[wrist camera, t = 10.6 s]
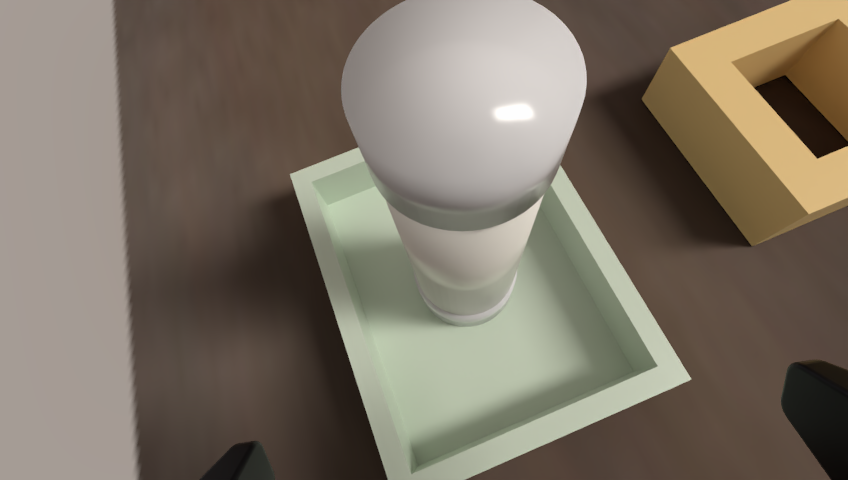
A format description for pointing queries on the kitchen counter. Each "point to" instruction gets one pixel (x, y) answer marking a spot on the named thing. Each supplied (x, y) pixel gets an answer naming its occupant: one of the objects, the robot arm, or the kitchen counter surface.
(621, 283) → the parts tray
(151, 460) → the kitchen counter surface
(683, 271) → the kitchen counter surface
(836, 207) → the tan square frame
